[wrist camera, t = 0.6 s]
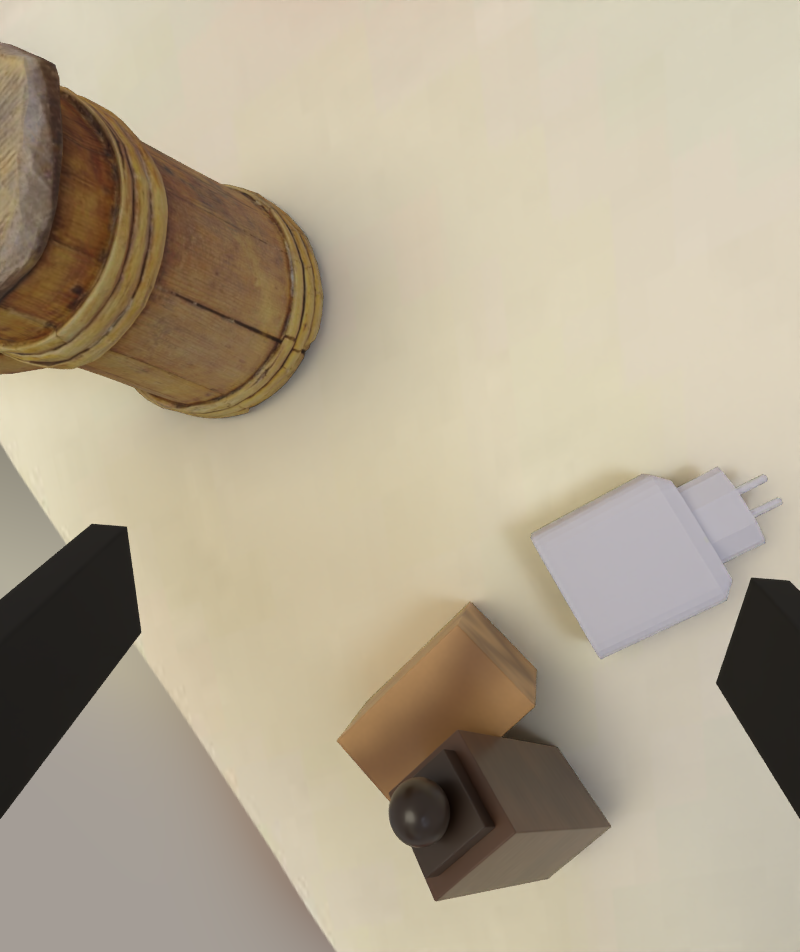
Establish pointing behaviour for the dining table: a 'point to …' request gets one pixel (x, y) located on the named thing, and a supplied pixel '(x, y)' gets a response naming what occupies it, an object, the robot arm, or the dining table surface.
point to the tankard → (140, 259)
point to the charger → (649, 554)
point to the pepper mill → (492, 814)
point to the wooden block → (441, 699)
